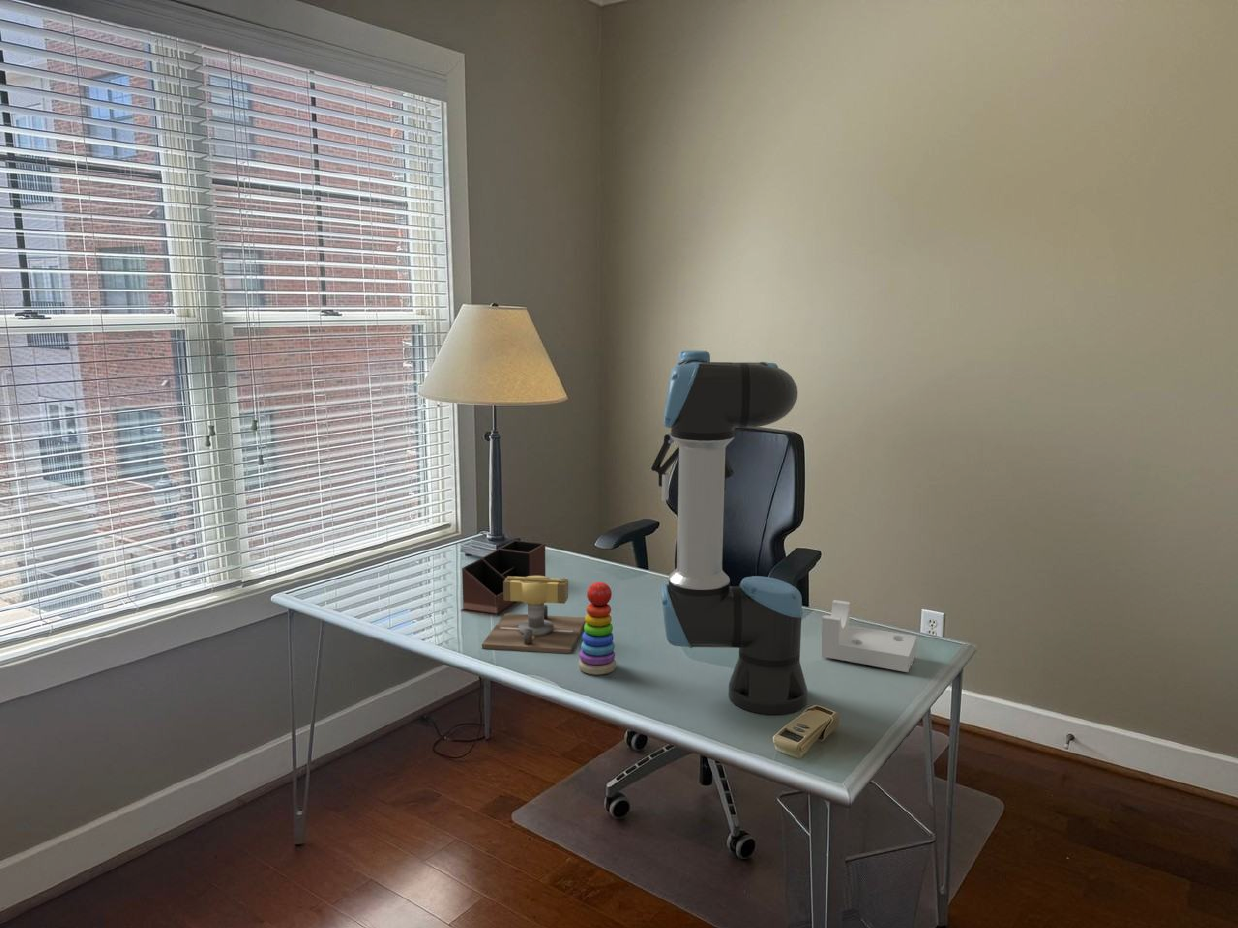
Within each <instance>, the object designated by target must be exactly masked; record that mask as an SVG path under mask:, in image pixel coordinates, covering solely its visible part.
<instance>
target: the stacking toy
mask: <svg viewBox="0 0 1238 928" xmlns="http://www.w3.org/2000/svg"><path fill="white" fill-rule="evenodd" d="M612 594H613V593H612V589H611V587H610V586H609V585H608V584H607V583H606V582H603V581H595V582H593V583H592V584H590V585H589V587H588V589H587V593H586V596H587V599H588V602H589V603H590V604H588V605H587V607H586V612H587V614H586V615H585V621H586V624H585V626H584V628H583V629H584V630H583V631H584V632H583V633H582V643H581V645H580V648H581V649H580V651H579V654H578V656H579V660H578V665H577V666H578V668H579V670H581V672H583V673H586V674H589V675H594V676H595V675H598V676H599V675H605V674H606V675H607V674H609V673H612V672H614V670H615V669H616V668H617V661H616V652H615V647H616V646H615V642H614V633H612V632H613V629H614V627H613V624H612V621H613V619H612V615H611V612H612V607H611V605H609V604H608V603H609V602H610V601H611V600H612Z"/></svg>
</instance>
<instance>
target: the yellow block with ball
mask: <svg viewBox="0 0 1238 928" xmlns="http://www.w3.org/2000/svg"><path fill="white" fill-rule="evenodd" d="M568 599H569V579H568V578H553V577H551V578H550V577H548V576H546V577H545V576H528V577H514V576H507V578H506V579H505V580H504V581H503V601H519V602H521V603H524V604H527V605H528V604H543V603H544V604H547V603H548V604H561V605H562V604H566V602H567V601H568Z"/></svg>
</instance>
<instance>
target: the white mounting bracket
mask: <svg viewBox="0 0 1238 928" xmlns="http://www.w3.org/2000/svg"><path fill="white" fill-rule="evenodd" d="M850 614H851V602H849V601H844V600H839V599H833V600H832V602H831V612H830V615H826V614H823V616H822V620H821V621H822V627H821V628H822V631H821V657H822V658H827V659H832V660H833V659H834V660H837V661H843V662H845V661H846V662H849V663H854V664H860V665H867V666H872V667H878V668H882V669H888V670H893V671H899V672H905V673H909V672H910V668H911V664H912V663H913V660H914V658H915V659H916V657H915V655H916V656H917V640H918V639H917V637H918V636H917V635H910V634H904V633H898V632H892V631H886V630H880V629H875V628H867V627H862V626H855V625H850V617H851V615H850ZM914 661H915V660H914ZM913 664H914V663H913Z"/></svg>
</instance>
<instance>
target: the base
mask: <svg viewBox="0 0 1238 928" xmlns="http://www.w3.org/2000/svg"><path fill="white" fill-rule="evenodd" d="M527 612H528V614H525V613H524V614H523V613H510V612H509V613H506V612H505V613H504V615H502V617H501V618H500V620H499V621H498V622H497V624H496V625H495V626H494V628H492V629H491V632H490V633H489V634H488V636H486V638H485V639H484V641H483V642H482V643H481V649H486V650H501V651H502V650H503V651H504V650H505V651H522V652H536V653H538V652H540V653H554V654H555V653H557V654H572V652H573V650H574V648H575V646H576V644H577V642H578V640H579V637H580V636H581V634H582V631H584V630H583V629H584V626H585V624H586V621H585V617H586V616H585V617H582V616H564V615H562V616H561V615H548V614H549V613H548V605H547V604H545V603H543V604H527Z"/></svg>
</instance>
